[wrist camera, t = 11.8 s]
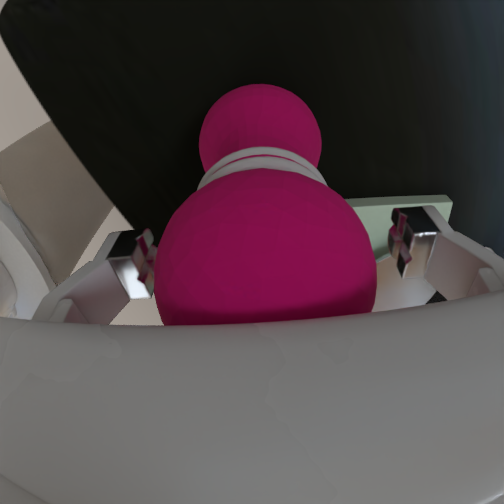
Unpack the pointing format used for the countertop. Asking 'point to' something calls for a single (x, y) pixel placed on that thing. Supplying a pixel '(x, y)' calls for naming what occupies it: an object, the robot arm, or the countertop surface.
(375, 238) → the scale
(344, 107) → the countertop surface
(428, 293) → the scale top
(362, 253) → the pepper mill
